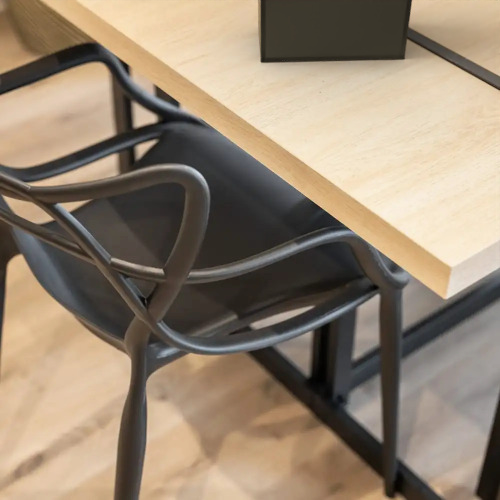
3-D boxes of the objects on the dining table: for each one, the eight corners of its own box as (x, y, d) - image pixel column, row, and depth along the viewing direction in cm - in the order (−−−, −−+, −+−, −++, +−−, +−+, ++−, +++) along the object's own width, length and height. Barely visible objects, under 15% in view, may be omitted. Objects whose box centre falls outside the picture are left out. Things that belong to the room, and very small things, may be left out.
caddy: (392, 23, 95) (400, -40, 90) (404, 59, 89) (413, -7, 84) (258, 26, 95) (257, -37, 90) (260, 62, 89) (260, -4, 83)
